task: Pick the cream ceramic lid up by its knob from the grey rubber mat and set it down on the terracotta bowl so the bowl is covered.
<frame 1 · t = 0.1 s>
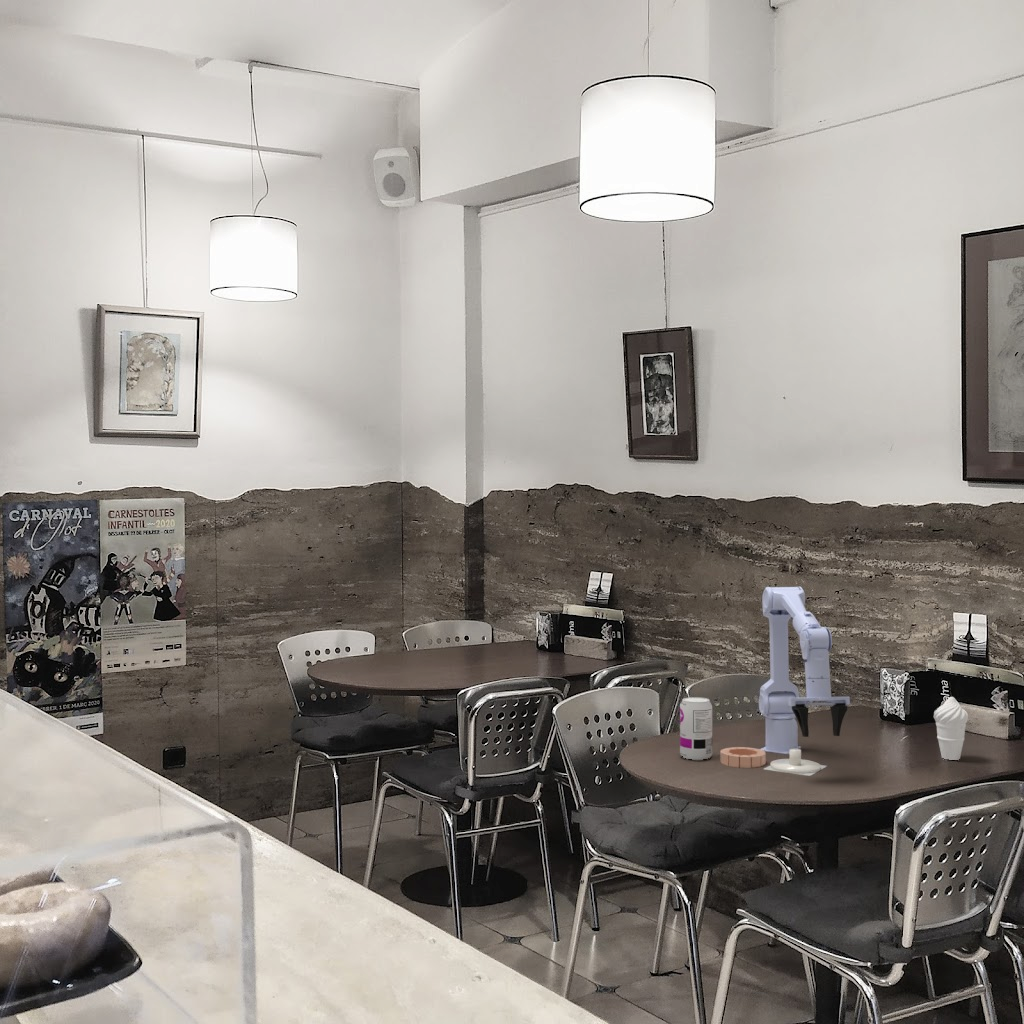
hand: (821, 736, 276), 11 cm above the table, tool pointing down, fingers open, 7 cm apart
supplement can: (696, 758, 300), on the table
bowl: (743, 763, 293), on the table
soft serve ice cream cone: (950, 759, 296), on the table
lid: (795, 767, 287), resting on mat
mat: (795, 769, 287), on the table
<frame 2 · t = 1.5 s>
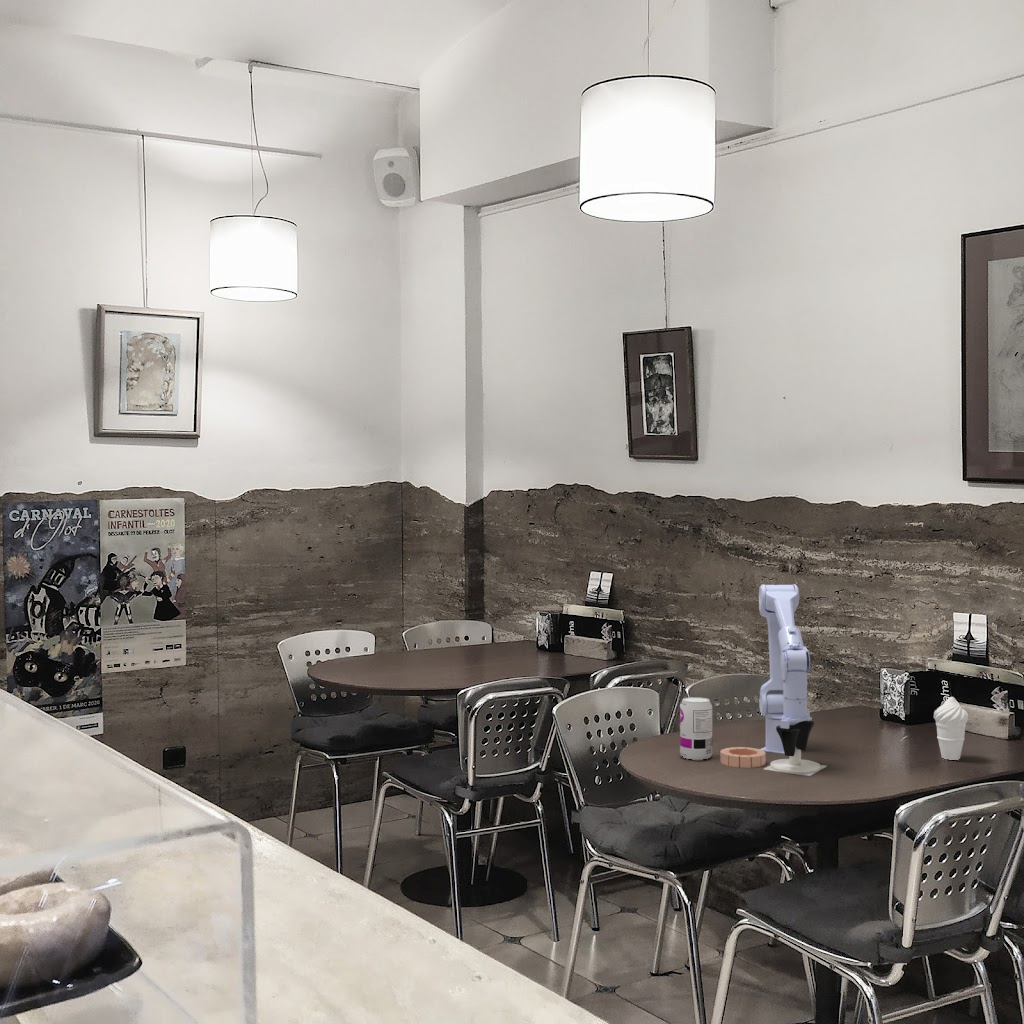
hand: (795, 752, 287), 4 cm above the table, tool pointing down, fingers open, 7 cm apart
nothing on the table moved.
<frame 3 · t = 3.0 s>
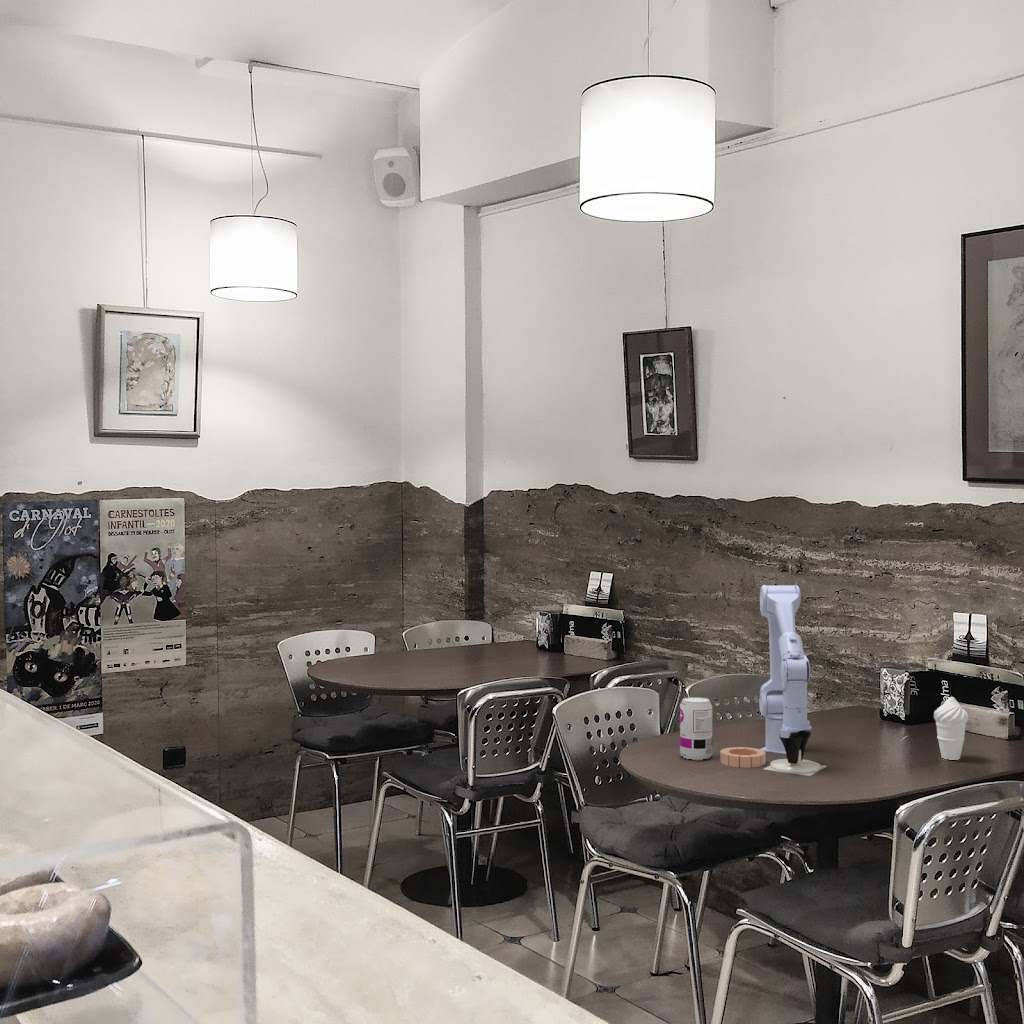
hand: (795, 761, 287), 2 cm above the table, tool pointing down, fingers closed on lid, 3 cm apart
lid: (795, 767, 287), resting on mat, touching gripper
everything else where it was.
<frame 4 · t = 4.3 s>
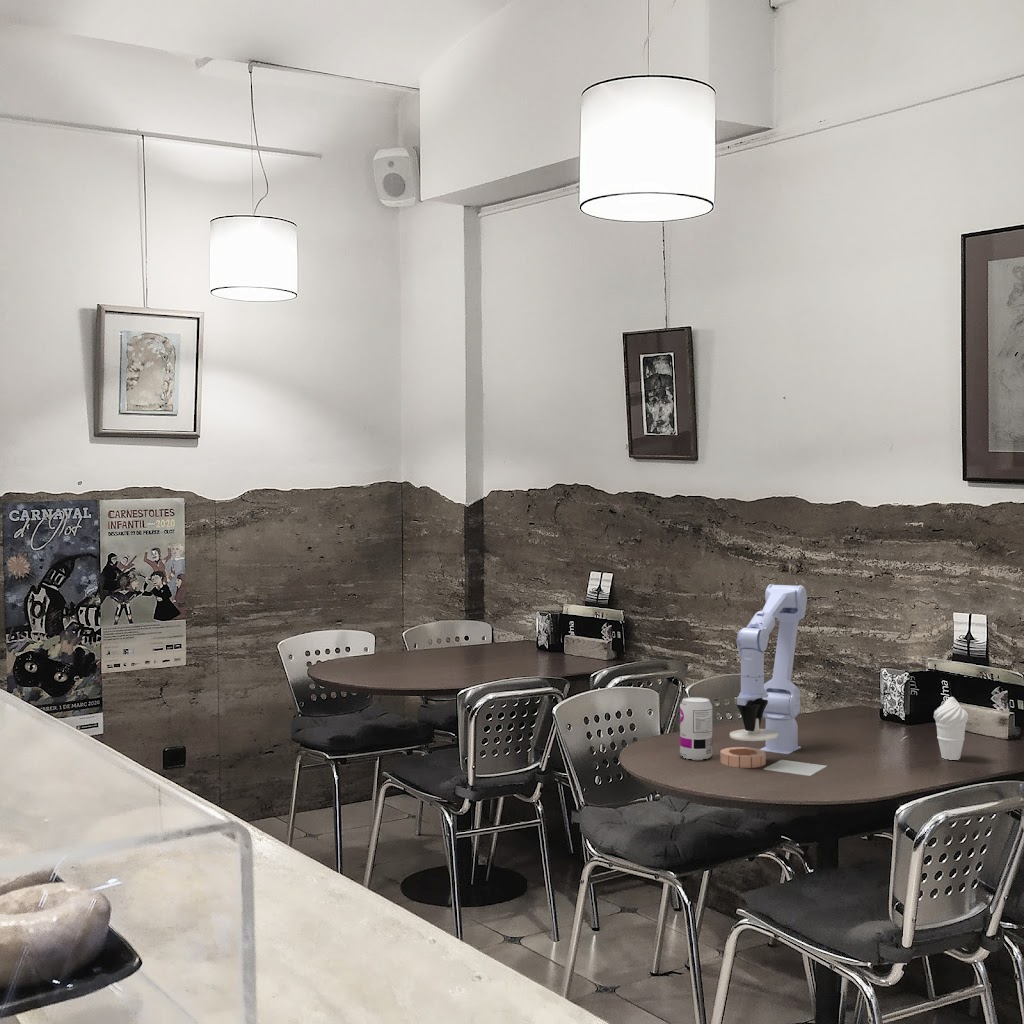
hand: (752, 729, 291), 9 cm above the table, tool pointing down, fingers closed on lid, 3 cm apart
lid: (753, 736, 291), point 7 cm above the table, touching gripper
everything else where it was.
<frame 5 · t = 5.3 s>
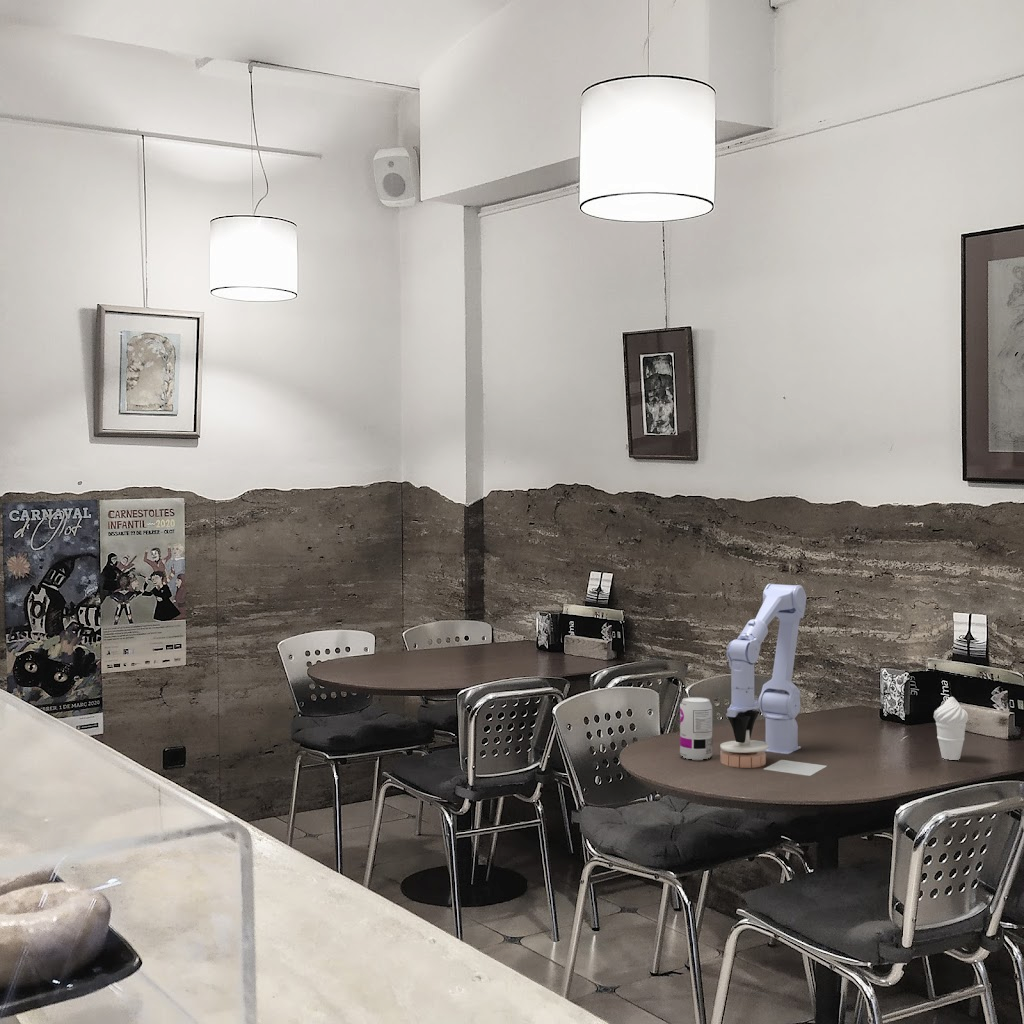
hand: (742, 740, 293), 6 cm above the table, tool pointing down, fingers closed on lid, 3 cm apart
lid: (744, 747, 292), point 4 cm above the table, touching gripper
everything else where it was.
when the fingers open (6 cm above the table, at t = 5.8 s): lid drops 1 cm, resting on bowl.
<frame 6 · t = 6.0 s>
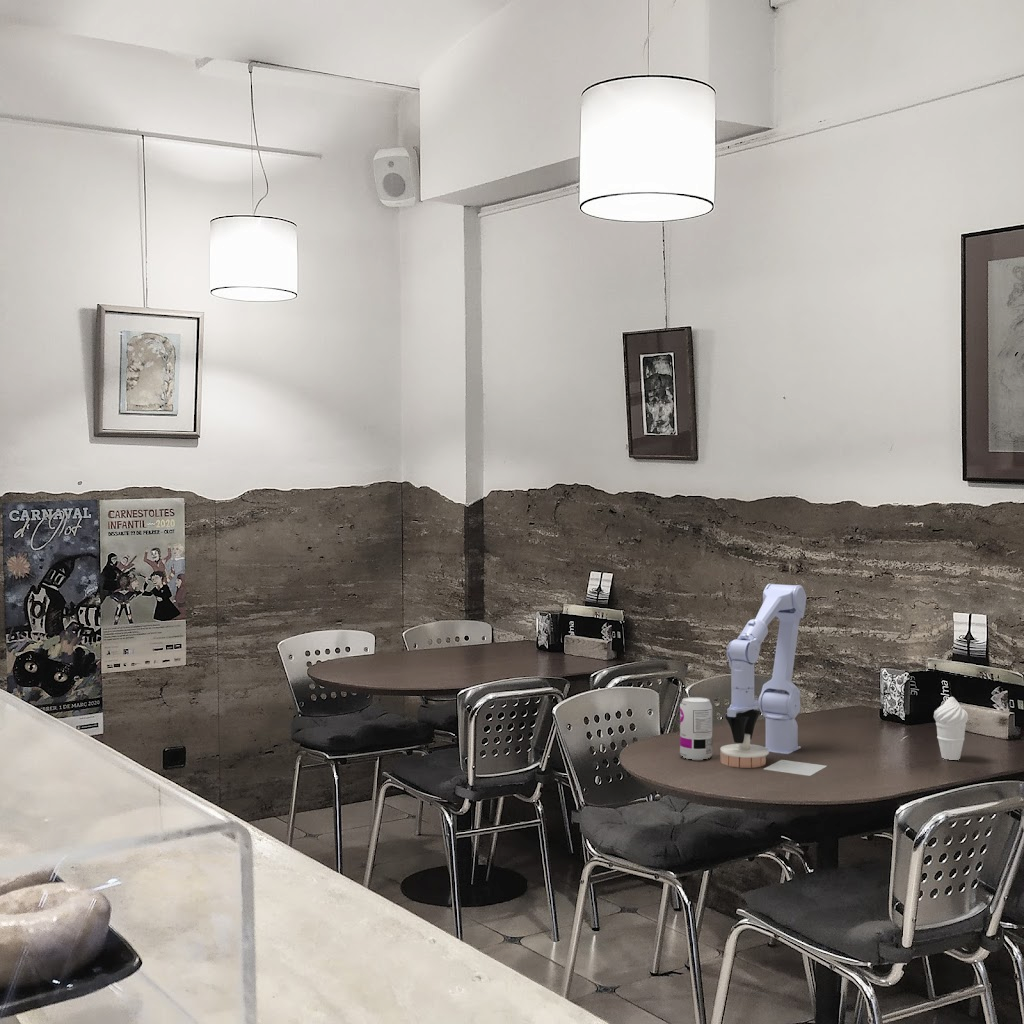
hand: (742, 740, 293), 6 cm above the table, tool pointing down, fingers open, 5 cm apart
lid: (744, 752, 292), point 3 cm above the table, touching bowl
everything else where it was.
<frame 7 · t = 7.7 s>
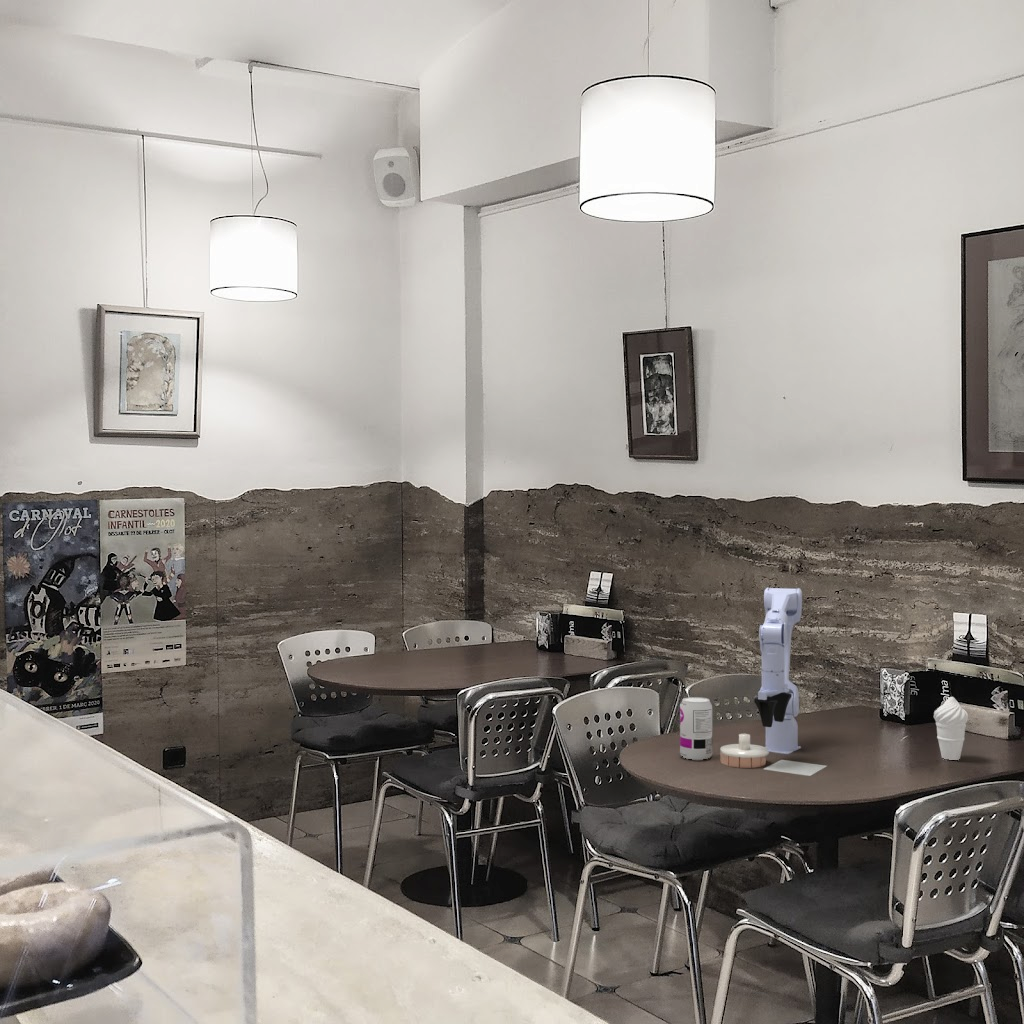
hand: (773, 724, 293), 10 cm above the table, tool pointing down, fingers open, 7 cm apart
nothing on the table moved.
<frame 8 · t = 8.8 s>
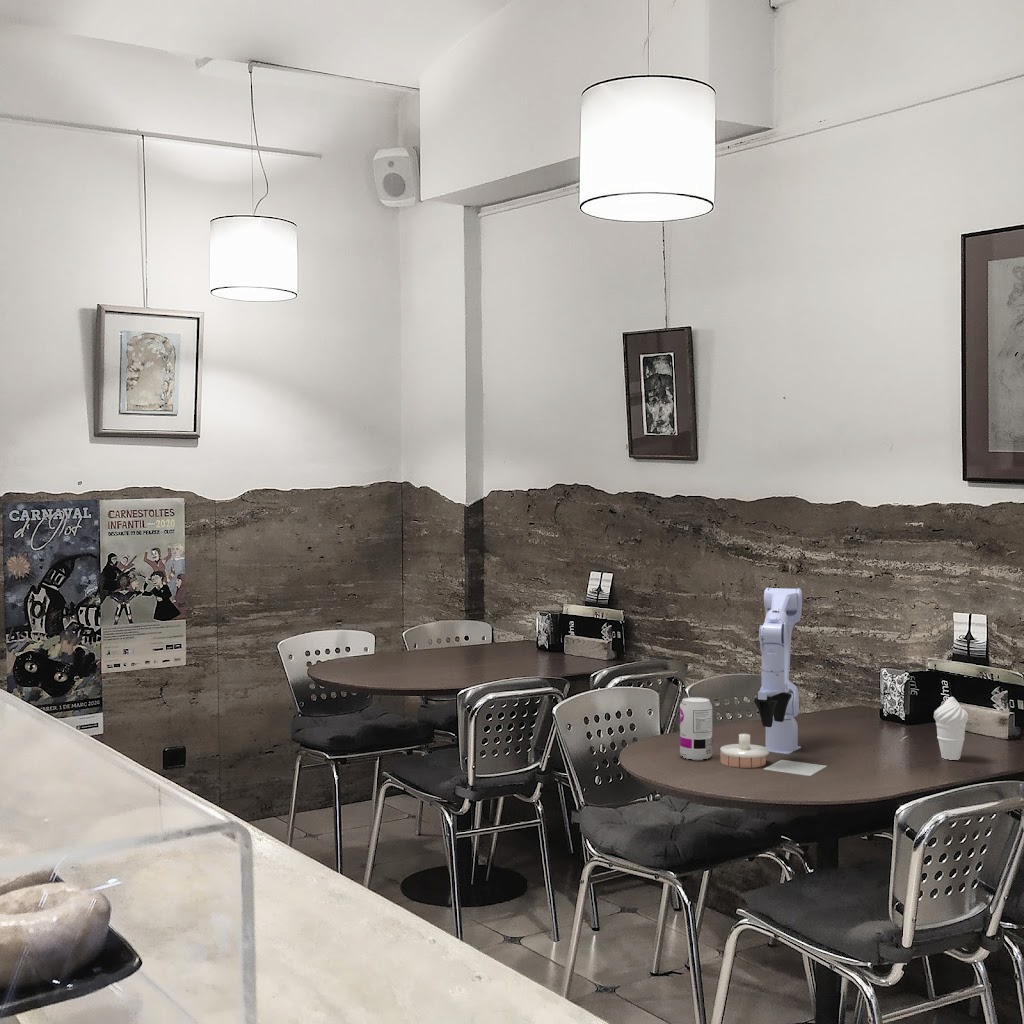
hand: (773, 724, 293), 10 cm above the table, tool pointing down, fingers open, 7 cm apart
nothing on the table moved.
at the end: lid 0.4 cm off-centre on the bowl, point 3.0 cm above the bowl's base; lid tilted 0°; the gripper is holding nothing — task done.
